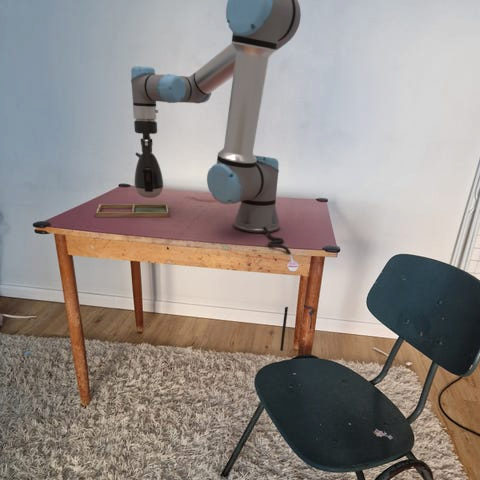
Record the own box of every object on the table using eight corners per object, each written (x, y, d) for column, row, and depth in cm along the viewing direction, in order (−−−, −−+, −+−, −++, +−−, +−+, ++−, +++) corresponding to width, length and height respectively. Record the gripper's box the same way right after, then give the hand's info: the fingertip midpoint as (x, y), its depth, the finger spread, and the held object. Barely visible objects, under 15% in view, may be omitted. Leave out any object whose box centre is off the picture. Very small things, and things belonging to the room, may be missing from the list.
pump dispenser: (148, 191, 158) (145, 148, 151) (169, 196, 154) (168, 151, 147) (128, 196, 150) (125, 151, 143) (151, 200, 146) (148, 154, 139)
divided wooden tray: (168, 216, 150) (168, 212, 150) (96, 216, 146) (95, 212, 145) (167, 208, 162) (167, 204, 161) (100, 208, 157) (99, 204, 156)
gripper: (157, 123, 131) (160, 195, 142) (156, 118, 151) (159, 182, 161) (132, 122, 130) (137, 195, 140) (135, 117, 149) (139, 182, 160)
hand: (149, 188), depth 151 cm, fingers closed on pump dispenser, 10 cm apart
